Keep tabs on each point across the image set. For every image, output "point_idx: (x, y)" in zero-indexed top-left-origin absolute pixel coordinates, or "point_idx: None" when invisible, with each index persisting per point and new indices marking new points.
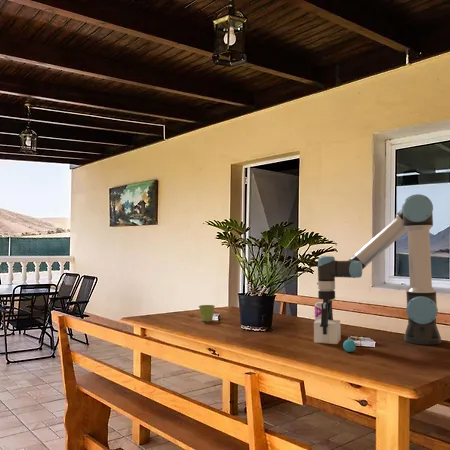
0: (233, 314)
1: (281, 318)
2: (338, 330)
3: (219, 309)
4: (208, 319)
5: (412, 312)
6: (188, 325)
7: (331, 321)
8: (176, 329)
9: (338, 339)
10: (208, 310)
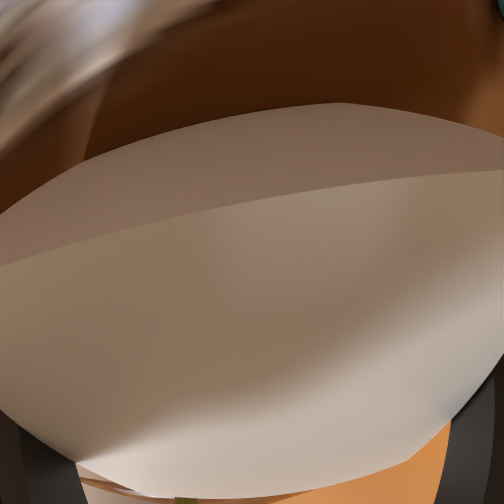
0: (96, 480)
1: None
2: (211, 135)
3: (88, 483)
4: (191, 500)
5: None
6: (246, 498)
7: (173, 444)
8: (291, 494)
9: (236, 117)
10: None
